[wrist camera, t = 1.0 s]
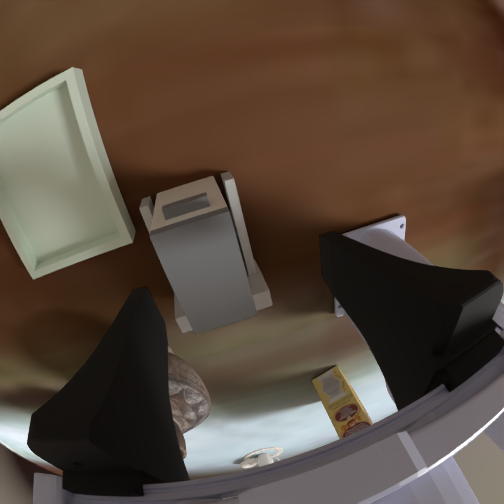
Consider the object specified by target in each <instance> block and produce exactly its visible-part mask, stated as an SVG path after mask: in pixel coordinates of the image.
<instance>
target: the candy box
mask: <svg viewBox="0 0 504 504" xmlns="http://www.w3.org/2000/svg"><path fill="white" fill-rule="evenodd" d="M312 383H313V385H314V387H315V389H316V391H317V393H318V395H319V397H320V399H321V401H322V403H323V405H324V407H325V409H326V411H327V414H328V416H329V418H330V420H331V422H332V424H333V426H334V428H335V430H336V432H337V434H338V436H339V438H340V439H342V438H344V437H346V436H349V435H351V434H353V433H355V432H358V431H360V430H362V429H364V428H366V427H368V426H370V425H372V424H373V422H372V421H371V419H370V417H369V415H368V414H367V412H366V410H365V408H364V407H363V405H362V403H361V402H360V400H359V398H358V397H357V395H356V393H355V392H354V390H353V388H352V387H351V385H350V384H349V382H348V380H347V379H346V377H345V376H344V375H343V373H342V372H341V370H340V368H339V367H338V366H337V365H336V366H335V367H333V368H331V369H330V370H328V371H326V372H325V373H323V374H322V375H320V376H318V377H316V378H314V379H312Z"/></svg>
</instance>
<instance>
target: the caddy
mask: <svg viewBox="0 0 504 504" xmlns="http://www.w3.org/2000/svg"><path fill="white" fill-rule="evenodd" d="M150 239H151V241H152V243H153V246H154V248H155V251H156V253H157V255H158V257H159V260H160V262H161V264H162V266H163V269H164V271H165V273H166V275H167V278H168V280H169V282H170V284H171V286H172V288H173V291H174V293H175V295H176V297H177V299H178V301H179V303H180V305H181V307H182V309H183V311H184V313H185V315H186V317H187V319H188V321H189V323H190V325H191V327H192V329H193V331H194V333H195V334H198V333H202V332H205V331H209V330H212V329H215V328H219V327H222V326H225V325H229V324H232V323H235V322H238V321H241V320H245V319H248V318H251V317H254V316H257V315H258V314H257V310H256V307H255V303H254V300H253V296H252V292H251V289H250V285H249V281H248V278H247V274H246V270H245V267H244V263H243V259H242V256H241V252H240V248H239V245H238V241H237V237H236V234H235V230H234V226H233V222H232V219H231V215H230V211H229V209H228V207H227V205H226V202H225V200H224V198H223V196H222V194H221V191H220V189H219V187H218V185H217V183H216V181H215V178H214V176H211V177H207V178H204V179H200V180H197V181H194V182H191V183H188V184H184V185H181V186H178V187H175V188H172V189H169V190H166V191H163V192H160V193H157V197H156V202H155V207H154V213H153V219H152V224H151V230H150Z"/></svg>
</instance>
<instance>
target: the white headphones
mask: <svg viewBox="0 0 504 504" xmlns="http://www.w3.org/2000/svg"><path fill="white" fill-rule="evenodd" d="M270 449H275V450H277V453H276V454H275V455H272V454H269V453H262V454H260V455H258V459H257V458H254V457H252V458H249V457H250V456H251V455H252V454H254V453H257V452H260V451H264V450H270ZM282 452H283V449H282V448H279V447H272V448H265V449H261V450H258V451H255V452H252V453H250V454H248V455H246V456H245V457H244V460H243V461H242V462H241V464H240V466H241V467H242V468H249V467H252V466H254V465H256V464H257V463H258V464H259V467H260V466H263V465H267V464H271V463H274V461H273V459H272V458H274V457H276V456H278V455H279V454H281V453H282ZM276 458H277V457H276ZM277 459H278V458H277ZM278 460H279V459H278ZM279 461H280V460H279Z"/></svg>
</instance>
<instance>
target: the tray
mask: <svg viewBox="0 0 504 504" xmlns="http://www.w3.org/2000/svg"><path fill="white" fill-rule="evenodd" d="M0 219H1V221H2V223H3V225H4V227H5V229H6V231H7V233H8V235H9V237H10V239H11V241H12V243H13V245H14V247H15V249H16V251H17V253H18V254H19V256H20V258H21V260H22V262H23V263H24V265H25V267H26V269H27V270H28V272H29V274H30V275H31V277H32V279H36V278H38V277H41V276H43V275H46V274H49V273H51V272H54V271H56V270H59V269H61V268H64V267H67V266H69V265H72V264H75V263H77V262H80V261H83V260H85V259H88V258H91V257H94V256H96V255H99V254H102V253H105V252H107V251H110V250H113V249H116V248H119V247H122V246H125V245H127V244H130V243H133V240H134V236H135V233H136V230H135V227H134V225H133V223H132V220H131V218H130V215H129V213H128V210H127V208H126V205H125V203H124V200H123V198H122V195H121V193H120V190H119V187H118V185H117V182H116V179H115V177H114V174H113V171H112V168H111V166H110V163H109V160H108V157H107V154H106V151H105V148H104V145H103V142H102V139H101V136H100V133H99V130H98V126H97V123H96V120H95V116H94V113H93V110H92V106H91V103H90V99H89V95H88V92H87V88H86V84H85V80H84V76H83V72H82V69H78V68H74V67H72V68H70V69H68V70H66V71H64V72H62V73H60V74H59V75H57V76H55V77H53V78H51V79H49V80H48V81H46V82H44V83H42V84H41V85H39V86H37V87H36V88H34V89H32V90H31V91H29V92H28V93H26V94H24V95H23V96H21V97H20V98H18V99H17V100H15V101H14V102H12V103H11V104H9V105H8V106H7V107H5V108H4V109H2V110H1V111H0Z"/></svg>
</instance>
